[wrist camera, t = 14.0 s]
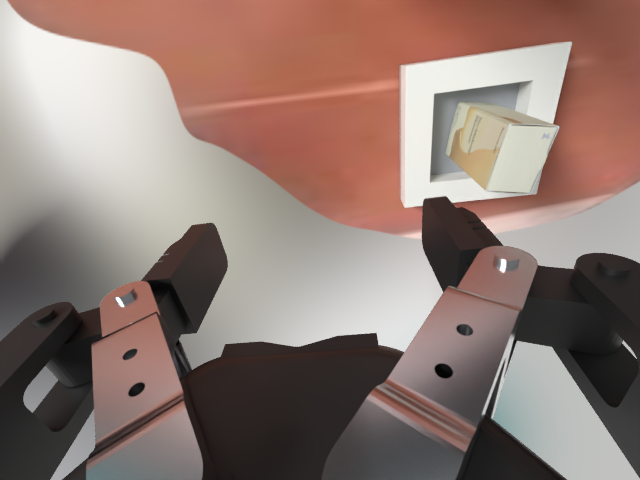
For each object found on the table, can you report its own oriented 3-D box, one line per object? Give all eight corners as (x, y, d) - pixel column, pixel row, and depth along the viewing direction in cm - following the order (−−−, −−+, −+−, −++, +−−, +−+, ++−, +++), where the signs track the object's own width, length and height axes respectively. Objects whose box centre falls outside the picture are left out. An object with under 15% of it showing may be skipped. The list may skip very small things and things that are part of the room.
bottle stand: (399, 65, 35) (405, 65, 32) (550, 42, 33) (572, 41, 30) (399, 197, 43) (404, 207, 40) (521, 184, 41) (536, 194, 38)
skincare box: (457, 100, 35) (509, 118, 25) (495, 102, 35) (563, 121, 25) (443, 156, 39) (484, 193, 28) (478, 158, 39) (532, 196, 28)
